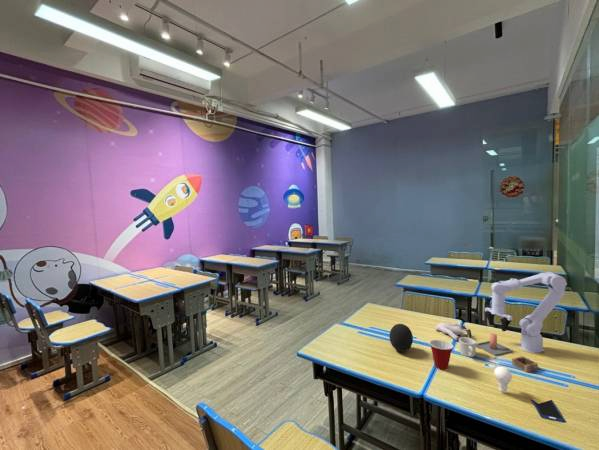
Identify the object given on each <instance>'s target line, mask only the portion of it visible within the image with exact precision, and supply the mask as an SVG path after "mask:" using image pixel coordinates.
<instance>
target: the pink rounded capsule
mask: <svg viewBox="0 0 599 450" xmlns="http://www.w3.org/2000/svg"><path fill="white" fill-rule="evenodd" d="M489 341H490V348H491V349H493V350H497V343H498V335H497V334H495V333H490V334H489Z"/></svg>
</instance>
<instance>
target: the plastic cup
mask: <svg viewBox="0 0 599 450" xmlns="http://www.w3.org/2000/svg"><path fill="white" fill-rule="evenodd" d="M428 344H429V346H430V349H431V352H432V353H431V354H432V357H433V358H432V359H433V362H434V363H433V364H434V367H435V368H436V369H438V370H441V371H446V370H448V368H449V364H450V359H451V354H452V350H453V348H454V345H453V344H452V343H451V342H449V341H446V340H443V339H431V340H429V343H428Z"/></svg>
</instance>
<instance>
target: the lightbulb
mask: <svg viewBox="0 0 599 450" xmlns="http://www.w3.org/2000/svg"><path fill="white" fill-rule="evenodd" d="M493 374H494V377H495V379H496V381H497V382H498V383H497V385H498V390H499V391H500V392H501V393H502V394H504V393H507V390H508V385H509V383H511V381H512V379H513V375H512V372H511V371H510V370H509V368H507V367H505V366H496V367H495V369H494V371H493Z"/></svg>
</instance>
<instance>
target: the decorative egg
mask: <svg viewBox="0 0 599 450" xmlns="http://www.w3.org/2000/svg"><path fill="white" fill-rule="evenodd" d="M389 331H390V332H389V336H388V337H389V342H390V344H391V345H392V347H393V349H395V350H396V351H398V352H406V351H408V350H409V349H410V348H412V345H413V342H414V337H413V332H412V330H411V329H410V327H409V326H407V325H406V324H403V323H397V324H394V325H393V326H392V327H391V329H390V330H389Z"/></svg>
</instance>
